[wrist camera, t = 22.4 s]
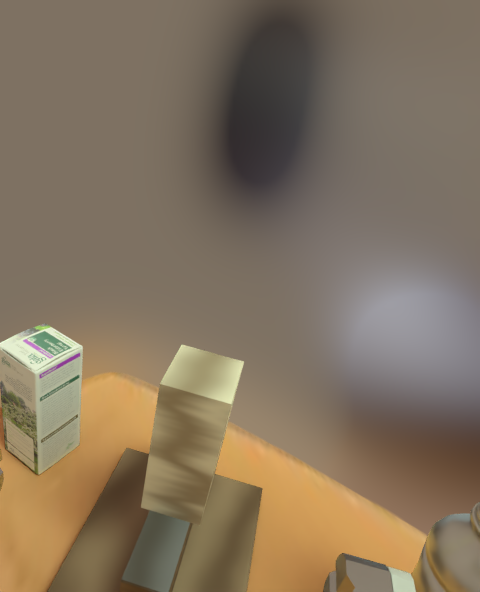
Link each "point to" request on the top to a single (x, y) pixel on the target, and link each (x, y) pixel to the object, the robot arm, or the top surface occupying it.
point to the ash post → (189, 432)
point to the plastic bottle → (451, 555)
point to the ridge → (162, 540)
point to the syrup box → (41, 396)
